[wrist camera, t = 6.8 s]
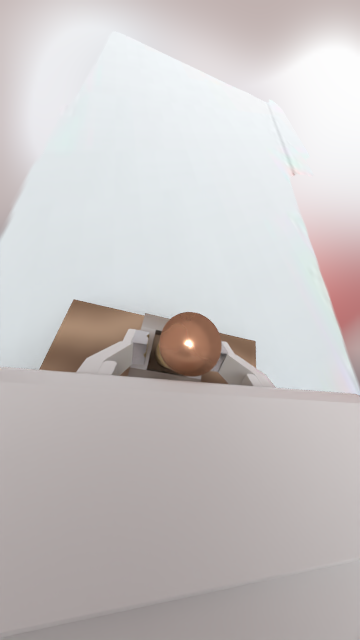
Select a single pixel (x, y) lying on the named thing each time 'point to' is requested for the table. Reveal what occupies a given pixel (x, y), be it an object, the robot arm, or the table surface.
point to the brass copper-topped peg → (189, 345)
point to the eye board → (110, 328)
